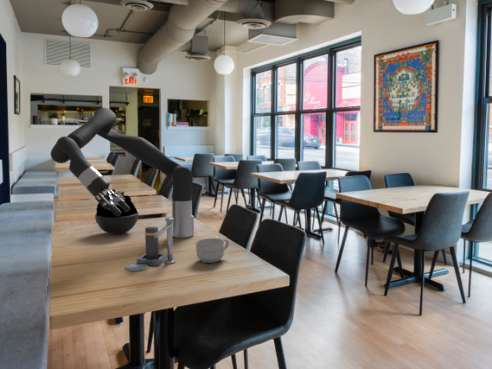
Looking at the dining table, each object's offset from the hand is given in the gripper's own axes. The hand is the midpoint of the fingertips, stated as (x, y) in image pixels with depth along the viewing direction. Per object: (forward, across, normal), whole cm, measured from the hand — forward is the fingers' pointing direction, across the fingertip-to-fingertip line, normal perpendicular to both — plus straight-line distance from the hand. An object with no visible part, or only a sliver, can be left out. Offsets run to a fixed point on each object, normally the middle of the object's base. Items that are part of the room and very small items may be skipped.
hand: (124, 212), depth 162 cm
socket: (+21, -2, -6) cm, 22 cm away
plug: (+20, -2, -6) cm, 21 cm away
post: (+26, -1, -1) cm, 26 cm away
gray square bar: (+16, +7, +9) cm, 20 cm away
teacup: (+37, -6, +10) cm, 39 cm away
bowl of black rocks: (-1, -42, -28) cm, 51 cm away
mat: (+18, +7, -8) cm, 21 cm away
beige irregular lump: (-6, -69, -34) cm, 77 cm away
